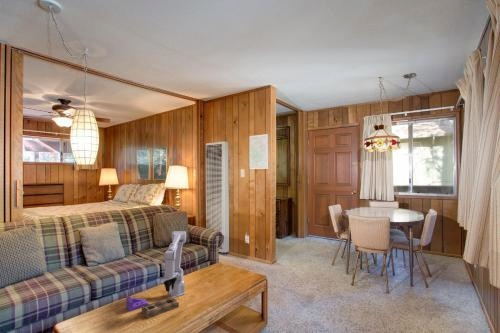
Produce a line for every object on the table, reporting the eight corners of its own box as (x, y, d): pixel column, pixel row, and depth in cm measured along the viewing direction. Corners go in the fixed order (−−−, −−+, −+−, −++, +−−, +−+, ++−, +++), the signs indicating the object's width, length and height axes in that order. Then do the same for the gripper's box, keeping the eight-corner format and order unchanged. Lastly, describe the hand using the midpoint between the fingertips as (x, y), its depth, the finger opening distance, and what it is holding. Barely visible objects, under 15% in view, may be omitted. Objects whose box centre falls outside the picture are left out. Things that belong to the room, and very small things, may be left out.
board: (171, 301, 175) (171, 296, 175) (178, 307, 168) (178, 302, 168) (141, 311, 162) (141, 306, 162) (147, 318, 155) (147, 313, 155)
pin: (170, 294, 171) (170, 282, 171) (172, 296, 169) (172, 284, 169) (166, 296, 169) (166, 283, 169) (168, 297, 167) (168, 285, 167)
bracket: (129, 312, 162) (129, 301, 162) (126, 307, 167) (126, 297, 167) (148, 306, 169) (148, 295, 170) (145, 301, 175) (145, 291, 175)
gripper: (173, 264, 177) (173, 284, 177) (156, 271, 165) (156, 293, 165) (181, 266, 174) (181, 286, 174) (164, 274, 161) (164, 296, 161)
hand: (169, 290), depth 169 cm, fingers closed on pin, 3 cm apart
